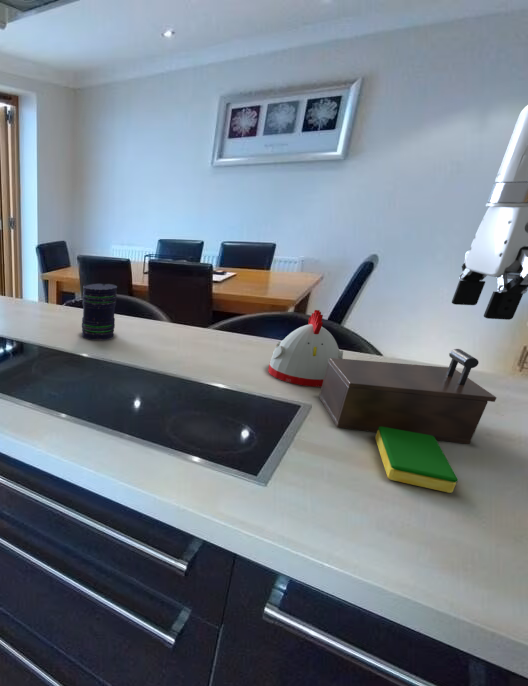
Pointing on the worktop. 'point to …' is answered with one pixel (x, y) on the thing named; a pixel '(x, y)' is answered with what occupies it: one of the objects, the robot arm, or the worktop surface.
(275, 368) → the kitchen timer
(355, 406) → the chest
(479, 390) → the lid
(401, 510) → the worktop surface
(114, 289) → the black striped canister
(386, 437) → the dish sponge
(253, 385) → the worktop surface
